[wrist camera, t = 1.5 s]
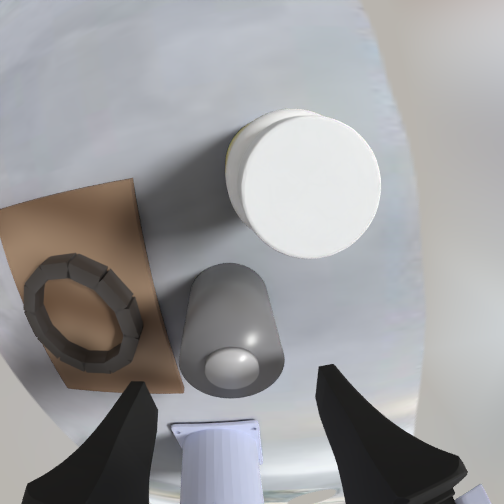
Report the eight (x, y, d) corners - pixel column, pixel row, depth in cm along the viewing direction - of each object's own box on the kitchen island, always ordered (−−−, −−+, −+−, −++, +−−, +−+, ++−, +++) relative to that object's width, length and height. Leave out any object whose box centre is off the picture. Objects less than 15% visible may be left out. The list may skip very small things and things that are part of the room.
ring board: (184, 387, 21) (182, 406, 19) (69, 383, 20) (62, 399, 19) (132, 177, 15) (120, 184, 13) (-1, 209, 14) (-19, 218, 12)
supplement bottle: (315, 200, 16) (388, 263, 8) (231, 209, 16) (235, 285, 8) (310, 115, 14) (390, 104, 7) (220, 122, 14) (213, 107, 6)
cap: (269, 324, 19) (286, 398, 13) (197, 331, 19) (190, 406, 13) (265, 259, 17) (285, 323, 11) (183, 267, 17) (166, 334, 11)
